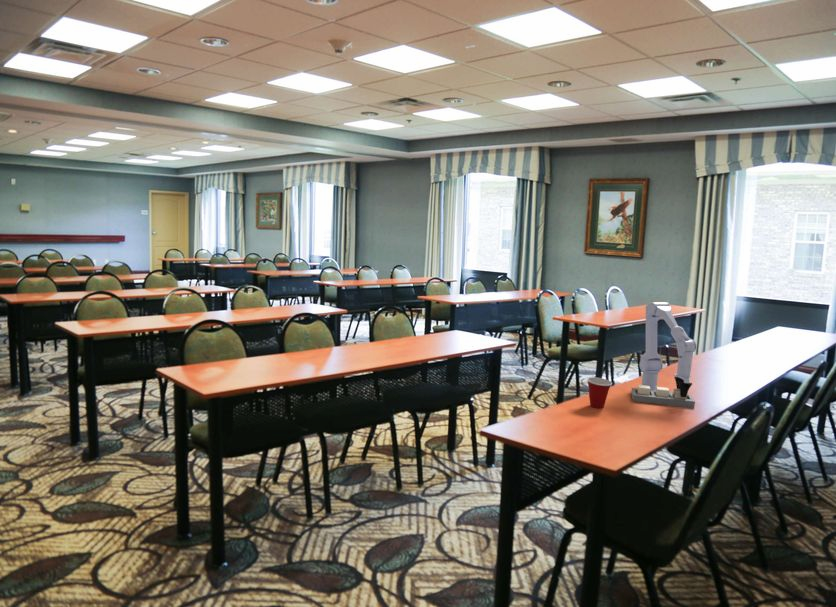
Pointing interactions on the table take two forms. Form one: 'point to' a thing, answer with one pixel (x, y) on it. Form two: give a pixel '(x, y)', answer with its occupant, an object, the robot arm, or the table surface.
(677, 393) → the loose block
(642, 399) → the puzzle board
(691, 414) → the table surface
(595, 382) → the plastic cup
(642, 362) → the robot arm
